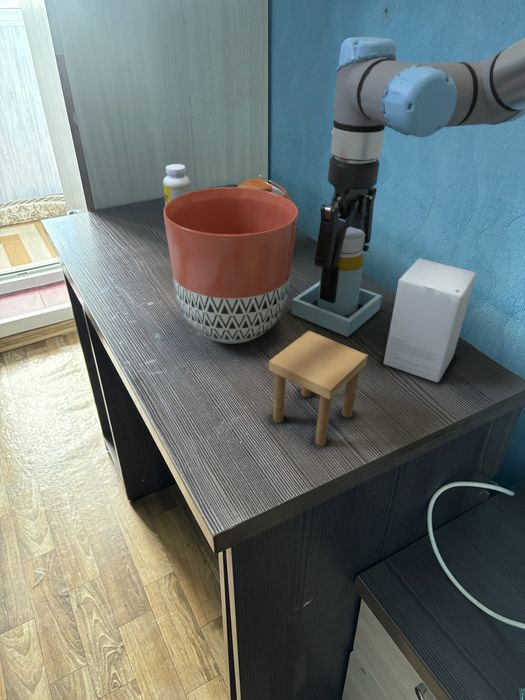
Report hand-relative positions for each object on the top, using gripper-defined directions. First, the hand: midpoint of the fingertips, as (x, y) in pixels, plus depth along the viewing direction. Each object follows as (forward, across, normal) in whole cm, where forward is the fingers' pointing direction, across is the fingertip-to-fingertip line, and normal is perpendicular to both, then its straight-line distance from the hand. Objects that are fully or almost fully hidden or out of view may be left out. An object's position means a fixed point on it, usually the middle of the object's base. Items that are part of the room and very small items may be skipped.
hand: (338, 291), depth 91 cm
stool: (+4, +26, +12) cm, 29 cm away
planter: (+4, +17, -10) cm, 20 cm away
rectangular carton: (+5, +4, +18) cm, 19 cm away
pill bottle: (+4, -16, -56) cm, 59 cm away
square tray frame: (+4, 0, 0) cm, 4 cm away
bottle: (+4, 0, 0) cm, 4 cm away
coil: (+4, -12, -28) cm, 31 cm away
